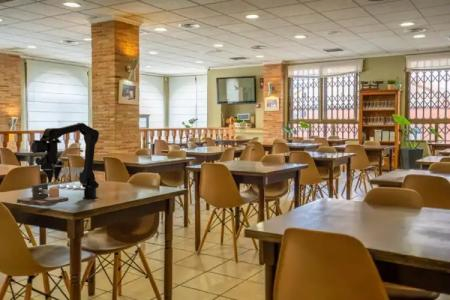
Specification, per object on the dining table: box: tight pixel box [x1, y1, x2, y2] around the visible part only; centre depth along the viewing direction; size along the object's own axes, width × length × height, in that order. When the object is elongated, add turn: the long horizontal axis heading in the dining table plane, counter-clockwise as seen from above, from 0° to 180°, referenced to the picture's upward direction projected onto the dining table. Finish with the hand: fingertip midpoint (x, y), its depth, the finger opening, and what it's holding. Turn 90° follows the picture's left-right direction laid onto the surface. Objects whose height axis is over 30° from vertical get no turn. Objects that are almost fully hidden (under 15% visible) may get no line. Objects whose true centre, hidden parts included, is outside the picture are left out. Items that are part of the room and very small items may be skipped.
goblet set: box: [56, 166, 85, 188], centre depth 324 cm, size 28×6×13 cm, turn 69°
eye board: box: [16, 183, 69, 206], centre depth 266 cm, size 20×18×9 cm
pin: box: [30, 186, 60, 198], centre depth 265 cm, size 18×4×5 cm, turn 61°
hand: (53, 180), depth 257 cm, fingers open, 9 cm apart
